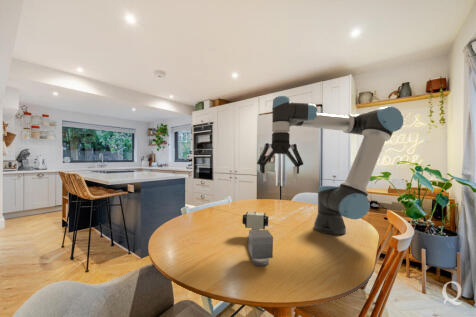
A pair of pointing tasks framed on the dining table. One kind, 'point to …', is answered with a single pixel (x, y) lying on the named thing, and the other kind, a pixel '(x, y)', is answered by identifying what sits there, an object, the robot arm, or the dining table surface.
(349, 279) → the dining table surface
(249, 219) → the pneumatic valve
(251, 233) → the gray cube
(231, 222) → the dining table surface
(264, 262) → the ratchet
